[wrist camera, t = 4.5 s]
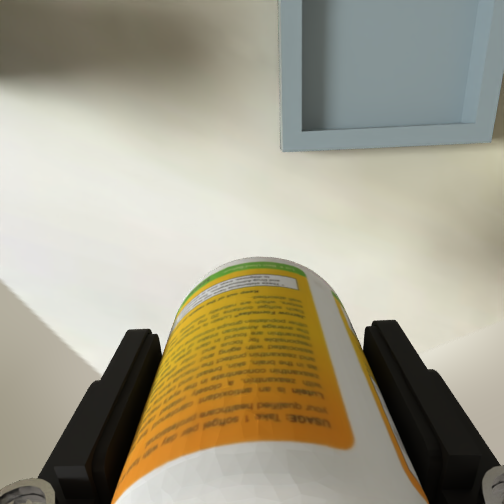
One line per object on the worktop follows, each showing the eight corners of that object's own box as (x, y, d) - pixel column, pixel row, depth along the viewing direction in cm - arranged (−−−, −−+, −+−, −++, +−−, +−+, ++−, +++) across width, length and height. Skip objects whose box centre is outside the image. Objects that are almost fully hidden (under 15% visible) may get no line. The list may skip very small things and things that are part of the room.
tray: (276, -88, 18) (278, -112, 16) (508, -103, 17) (539, -129, 15) (280, 148, 21) (283, 152, 20) (470, 139, 21) (491, 142, 19)
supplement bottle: (145, 342, 12) (-172, 1064, 3) (242, 216, 10) (167, 1016, 1) (275, 415, 13) (321, 1081, 4) (380, 313, 12) (821, 1066, 3)
